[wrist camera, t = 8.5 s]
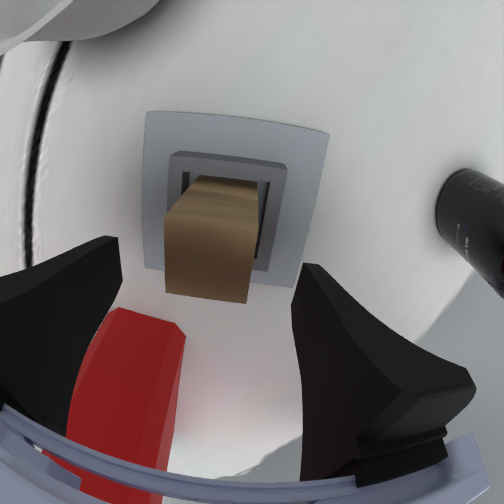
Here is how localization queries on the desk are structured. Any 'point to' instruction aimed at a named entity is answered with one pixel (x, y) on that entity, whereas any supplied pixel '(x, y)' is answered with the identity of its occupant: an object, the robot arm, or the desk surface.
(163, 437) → the book
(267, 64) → the desk surface
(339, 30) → the desk surface
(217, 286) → the oak peg
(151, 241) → the stand
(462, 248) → the supplement bottle
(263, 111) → the desk surface
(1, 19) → the teacup
